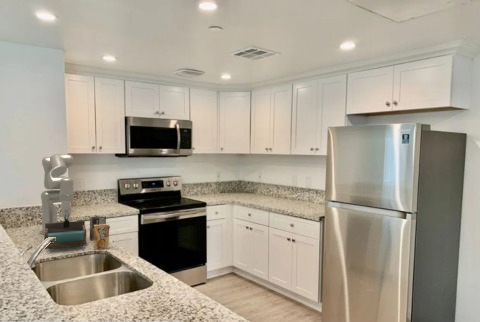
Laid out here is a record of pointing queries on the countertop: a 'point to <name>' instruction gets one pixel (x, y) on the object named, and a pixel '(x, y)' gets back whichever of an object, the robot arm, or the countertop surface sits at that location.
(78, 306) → the countertop surface
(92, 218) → the coffee box
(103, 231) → the candy box
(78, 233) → the panel
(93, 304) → the countertop surface
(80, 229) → the hinged box
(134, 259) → the countertop surface
